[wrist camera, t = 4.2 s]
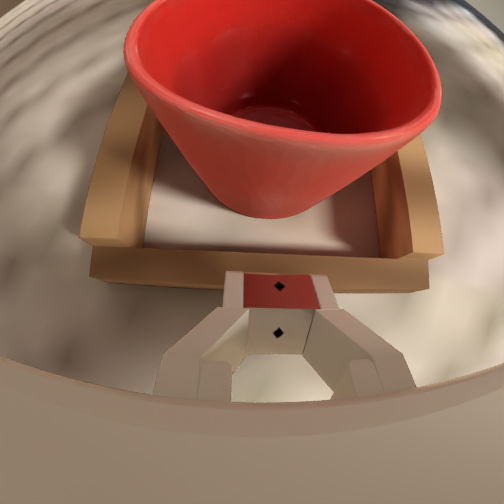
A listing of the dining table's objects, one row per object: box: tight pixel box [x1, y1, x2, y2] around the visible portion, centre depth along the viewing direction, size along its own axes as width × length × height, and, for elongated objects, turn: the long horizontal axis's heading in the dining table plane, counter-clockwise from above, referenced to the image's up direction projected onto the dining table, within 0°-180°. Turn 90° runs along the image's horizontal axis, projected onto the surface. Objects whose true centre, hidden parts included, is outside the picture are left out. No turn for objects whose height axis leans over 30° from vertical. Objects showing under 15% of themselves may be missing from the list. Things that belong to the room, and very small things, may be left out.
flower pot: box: [124, 0, 442, 219], centre depth 12 cm, size 11×11×10 cm
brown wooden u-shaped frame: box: [79, 72, 444, 293], centre depth 15 cm, size 22×17×4 cm
